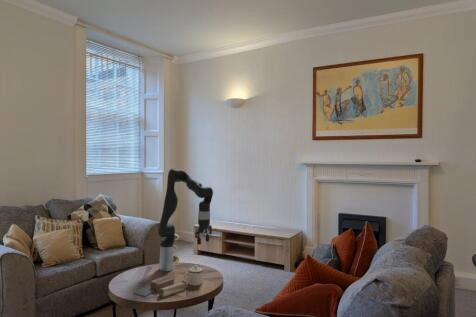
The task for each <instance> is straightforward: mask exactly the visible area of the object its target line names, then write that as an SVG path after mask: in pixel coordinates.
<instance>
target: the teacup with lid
mask: <svg viewBox="0 0 476 317" xmlns="http://www.w3.org/2000/svg"><path fill="white" fill-rule="evenodd" d="M203 271H204V269H203V268H202V267H199V266H198V265H197V264H196V265H194V266H192V267H191V268H189V269H188V272H185V273H184V275H183V278H184V279H185V280H186V281H188V284H189V285H190V286H194V287H196V286H201V285H202V284H203ZM186 275H188V278H186Z"/></svg>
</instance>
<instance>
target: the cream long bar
mask: <svg viewBox="0 0 476 317" xmlns="http://www.w3.org/2000/svg"><path fill="white" fill-rule="evenodd" d="M186 289H187V280H186V281H185V280H182V281H180V282H178V283H174V285H171V286H168V287H165V288H159V292H158V296H159V297H160V298H165V297H168V296H170V295H174V294H177V293H179V292H181V291H184V290H186Z"/></svg>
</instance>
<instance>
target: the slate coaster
mask: <svg viewBox="0 0 476 317" xmlns="http://www.w3.org/2000/svg"><path fill="white" fill-rule="evenodd" d="M155 292H156V291H155V290H153V289H150V287H149V288H148V287H142V288H140V289H138V290H136V291H134V292H133V295H137V296H140V297H144V298H146V297H148V296H150V295H152V294H154V293H155Z"/></svg>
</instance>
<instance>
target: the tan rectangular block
mask: <svg viewBox="0 0 476 317" xmlns="http://www.w3.org/2000/svg"><path fill="white" fill-rule="evenodd" d="M149 282H150V284H149V285H150V287H149V289H153V290H155V292H157V293H159V288H165V287H168V286H171V285H174V284H175V278H172V277H169V276H167V275H165V276H162V277H159V278H155V279H152V280H149Z"/></svg>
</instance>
